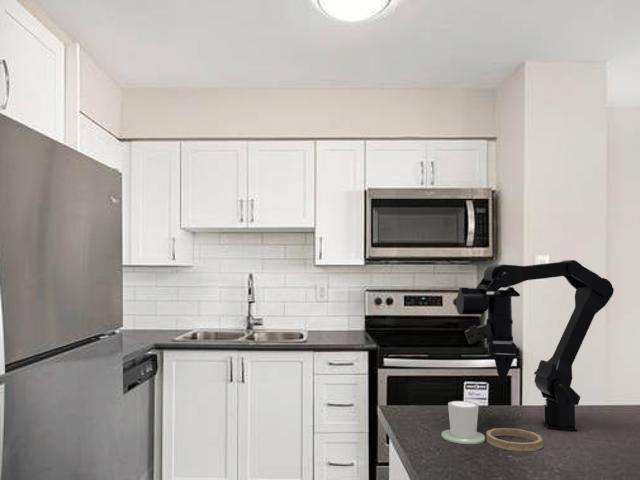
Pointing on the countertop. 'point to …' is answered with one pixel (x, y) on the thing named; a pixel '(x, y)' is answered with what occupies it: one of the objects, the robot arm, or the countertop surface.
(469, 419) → the shot glass
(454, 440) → the pale green round disc
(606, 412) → the countertop surface
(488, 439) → the collar
